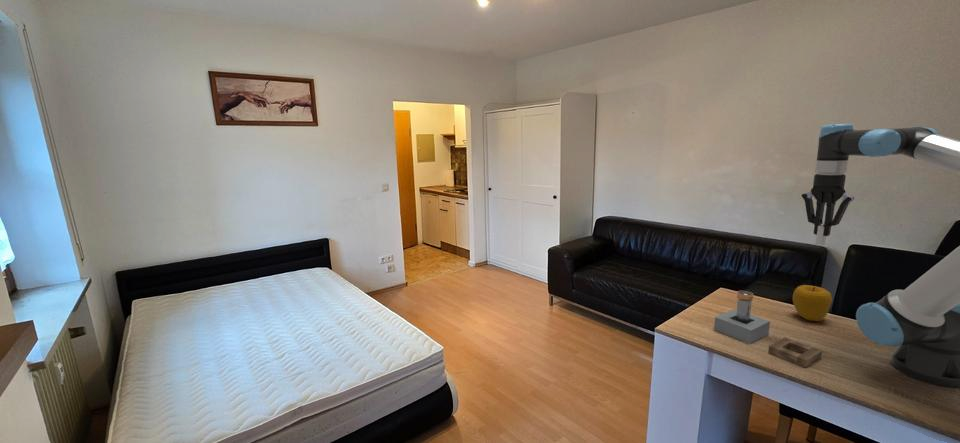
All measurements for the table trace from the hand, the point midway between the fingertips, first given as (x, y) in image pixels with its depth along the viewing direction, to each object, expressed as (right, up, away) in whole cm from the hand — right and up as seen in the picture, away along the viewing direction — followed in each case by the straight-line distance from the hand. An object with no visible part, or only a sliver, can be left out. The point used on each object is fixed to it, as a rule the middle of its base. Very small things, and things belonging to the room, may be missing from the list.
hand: (820, 244), depth 128 cm
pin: (-20, -32, +10) cm, 39 cm away
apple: (+11, -29, +17) cm, 36 cm away
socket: (-20, -32, +10) cm, 39 cm away
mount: (-13, -35, -6) cm, 38 cm away
